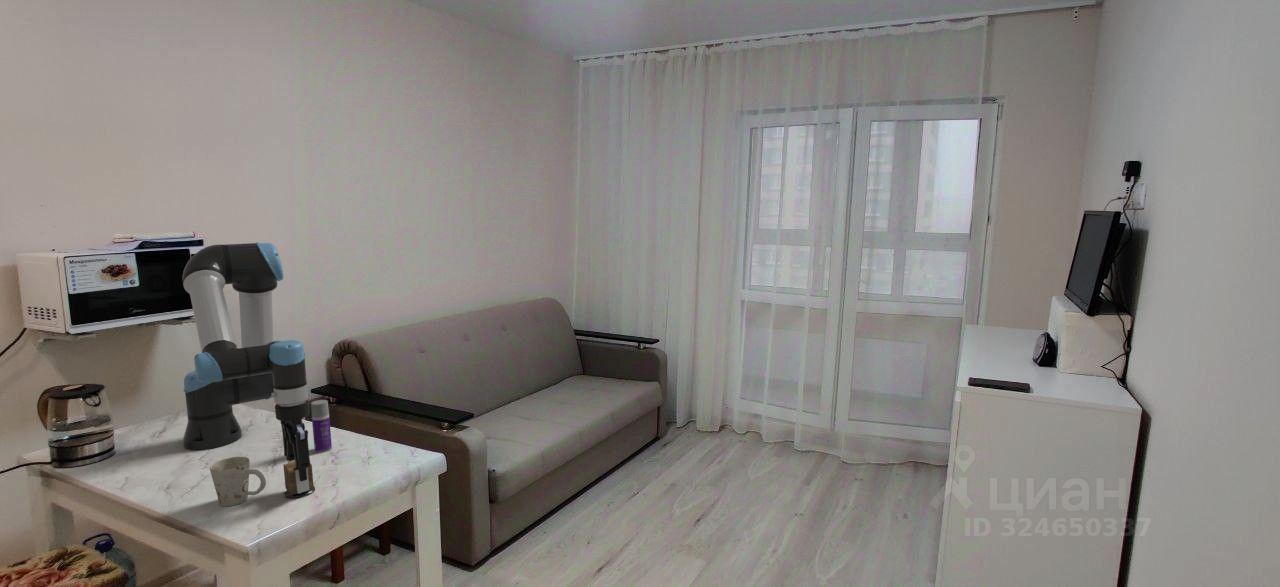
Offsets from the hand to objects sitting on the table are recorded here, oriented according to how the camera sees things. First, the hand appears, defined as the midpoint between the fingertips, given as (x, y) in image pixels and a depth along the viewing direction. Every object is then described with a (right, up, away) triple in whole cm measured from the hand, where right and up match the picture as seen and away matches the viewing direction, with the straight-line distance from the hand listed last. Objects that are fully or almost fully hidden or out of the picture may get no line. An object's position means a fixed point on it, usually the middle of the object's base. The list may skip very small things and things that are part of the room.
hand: (299, 487), depth 161 cm
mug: (-12, -2, -4) cm, 13 cm away
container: (-8, +3, +27) cm, 29 cm away
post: (0, -1, 0) cm, 1 cm away
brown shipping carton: (0, 0, 0) cm, 0 cm away
